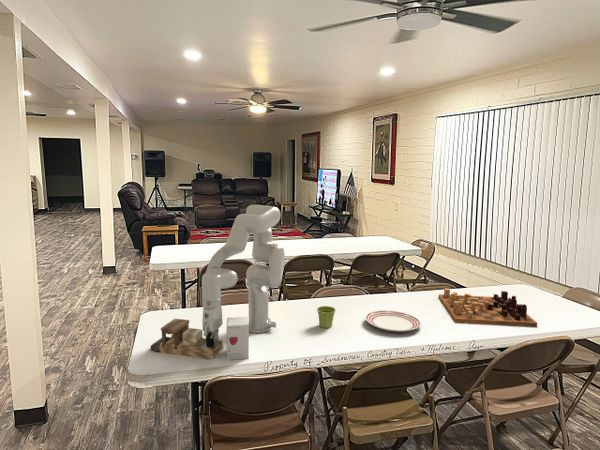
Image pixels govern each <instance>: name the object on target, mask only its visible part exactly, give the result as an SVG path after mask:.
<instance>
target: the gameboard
mask: <svg viewBox="0 0 600 450" xmlns="http://www.w3.org/2000/svg"><path fill="white" fill-rule="evenodd" d="M438 299H439V300H440V302H441V303H442V305H443V306H444V307H445V310H446V311H447V313H448V314H449V316H450V317H451V318H452V320H453V321H454V323H459V324H460V323H461V324H462V323H463V324H464V323H465V324H481V325H497V326H499V325H500V326H517V327H538V322H537V321H536V320H534V319H533V318H532V316H530V315H529V314H527V311H528V308H527V307H528V306H527V304H524V303H523V304H521V303H519V304H518V301H517V296H516V295H511V297H509V292H508V291H506V290H501V293H500V296H499V294H498V293H497V294H496V293H494V294H493V296H483V295H482V296H480V295H471V293H464V294H463V295H460V294H458V292H456V291H453V292H452V293H451V289H450V288H448V287H447V288H444V291H443V293H442V294H438Z"/></svg>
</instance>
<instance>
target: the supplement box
mask: <svg viewBox="0 0 600 450" xmlns="http://www.w3.org/2000/svg"><path fill="white" fill-rule="evenodd" d="M248 323H249V316H243V317H242V316H241V317H238V316H237V317H235V316H234V317H227V318H226V359H227V360H226V361H228V360H229V361H232V360H247V359H249V358H250V357H249V347H250V346H249V345H250V343H249V342H250V341H249V340H250V339H249V337H250V335H249V333H250V332H249V324H248Z"/></svg>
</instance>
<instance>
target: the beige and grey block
mask: <svg viewBox="0 0 600 450" xmlns="http://www.w3.org/2000/svg"><path fill="white" fill-rule="evenodd" d="M208 333H209V334H210V335H211V333H210V332H208ZM203 336H204V335H203V328H202V329H200V328H194V327H193V328H191V327H189V329H188V330H186V331H185V332H184V333H183V345H185V346H193V347H200V348H208V349H214V350H215V349H216V348H217V347H218V346H219V344H218V340H219V333H218V329H217V330H216V331H215V332H213V338H214V347H207V346H206V342H203V338H204V337H203Z"/></svg>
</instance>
